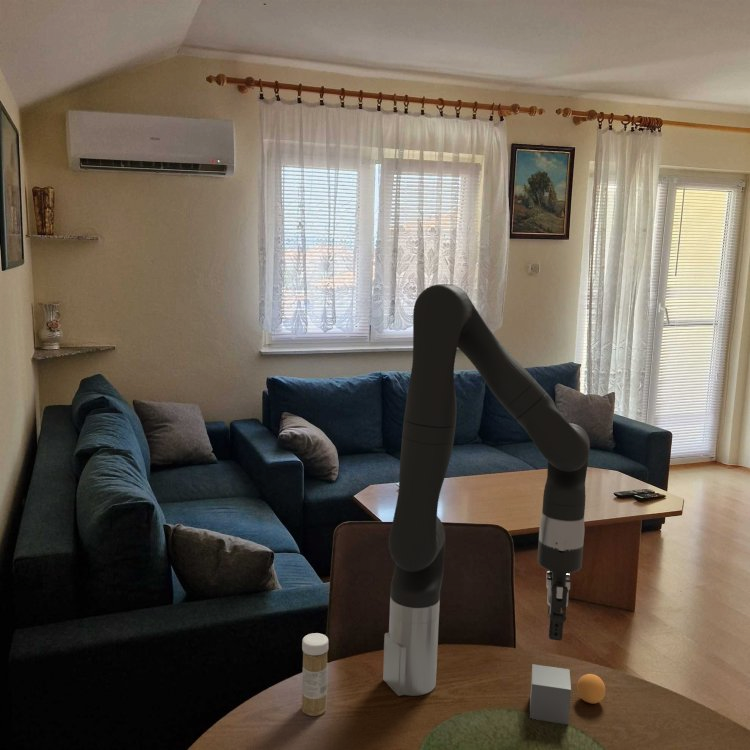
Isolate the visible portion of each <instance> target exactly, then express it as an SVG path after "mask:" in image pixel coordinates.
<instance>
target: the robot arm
mask: <svg viewBox="0 0 750 750" xmlns="http://www.w3.org/2000/svg"><path fill="white" fill-rule="evenodd" d="M412 313H413V314H412V318H413V319H412V322H413V323H412V328H413V330H412V331H413V332H412V333H413V334H412V366H411V371H410V377H409V382H408V388H407V395H406V403H405V409H404V410H405V411H404V415H403V425H402V435H401V447H400V459H399V474H398V475H399V477H398V478H399V480H398V483H399V484H398V491H397V492H398V493H397V499H396V504H395V510H394V514H393V518H392V519H393V520H392V523H391V528H390V532H389V537H388V550H389V553H390V556H391V558H392V560H393V561H394V562H395V565H394V571H393V575H392V578H391V581H390V582H391V583H390V597H389V598H390V599H389V600H390V601H389V619H388V620H389V622H388V623H389V624H388V632H385V633H384V642H383V668H382V669H383V671H382V672H383V674H382V680H383V681H384V682H385V683H386V685H387V686H388V687H390V689H391V690H392V691H393V692H394V693H395V694H396V695H397V696H398V697H401V696H412V697H417V696H423V695H427V694H429V693H431V692H432V691H433V690H434V689H435V687H436V685H437V665H438V663H437V662H438V646H439V645H438V643H439V621H440V620H439V619H440V603H441V602H440V601H441V600H440V599H441V588H442V584H443V578H444V566H445V565H444V564H445V553H446V552H445V551H446V547H445V546H446V531H445V528H444V524H443V523H442V521H441V519H440V518H439V517H438V509H439V507H438V506H439V499H440V494H441V491H442V488H443V484H444V482H445V481H444V480H445V479H446V475H447V471H448V468H449V465H450V460H451V458H452V457H451V456H452V453H453V452H452V451H453V447H454V441H455V435H456V434H455V433H456V426H457V414H458V413H457V410H458V409H457V396H456V395H457V394H456V384H455V379H454V378H455V375H454V373H455V371H454V370H455V361H456V356H457V351H458V349H459V351H461V353H462V354H464V356H466V357H467V359H468V360H469V361H470V362H471V364H472V365H473V366H474V368H475V369H476V370H477V372H478V373H479V375H480V376H481V378H482V379H483V380H484V382H485V384H486V386H487V387H488V389H489V390H490V391H491V393H492V394H493V396H494V397H495V398H496V400H498V402H499V403H500V404H501V406H502V407H503V408H504V409H505V410H506V411H507V412H508V413H509V414H510V416H511V417H513V419H514V420H515V421H516V422H517V423H518V424H519V425H520V426H521V427H522V428H523V429H524V430H525V431H526V433H527V434H528V436H529V438H530V439H531V440H532V442H533V443H534V446H535V447H536V448H537V450H538V451H539V452H540V453H541V454H542V457H544V459H545V460H547V469H546V470H547V471H546V472H547V474H546V475H547V477H546V480H545V485H544V490H543V494H542V495H543V497H542V509H541V510H542V512H541V517H540V521H539V531H538V545H537V546H538V547H537V559H536V560H537V563H538V565H539V566H540V567H541V568H543V569H545V570H547V571H546V577H545V578H546V579H545V580H546V583H545V584H546V585H545V586H546V589H547V599H546V603H547V606H548V607H547V615H548V618H549V624H548V625H549V626H548V638H549V639H550V640H553V641H562V639H563V631H564V630H563V629H564V623H565V622H566V621H567V615H566V614H567V607H568V604H569V591H570V590H571V579H570V577H571V573H573V574H574V573H576V572H578V571H580V570H581V569H582V566H583V553H584V539H585V531H586V530H585V514H586V513H585V510H586V496H587V495H586V477H587V471H588V470H587V469H588V465H589V457H590V449H591V442H590V441H591V440H590V438H589V435H588V433H587V432H586V430H585V429H584V428H583V427H581V426H580V425H578V424H577V423H571V422H569V421H568V420H567V419H566V418H565V417H564V416H563V414H561V413H560V411H559V410H558V408H557V407H556V403H555V402H554V400H553V399H552V397H551V396H550V395H549V393H547V391H546V390H545V389H544V388H543V387H542V386H541V385H540V384H539V383H538V382H537V380H536V379H535V378H534V377H533V376H532V375H531V374H530V373H529V372H528V371H527V370H526V368H525V367H523V365H521V363H520V362H519V361H518V360H517V359H516V358H515V356H513V355H512V354H511V353H510V351H509V350H508V349H507V348H506V347H505V346H504V345H503V344H502V342H500V340H499V339H498V338H497V336H496V335H495V334H494V332H493V331H492V330H491V329H490V328H489V326H488V325H487V323H486V322H485V320H484V319H483V317H482V316H481V314H480V313H479V311H478V310H477V308H476V307H475V305H474V304H473V302H472V300H471V299H470V296H469V295H468V293H467V292H466V291H465V290H464V289H463V288H460V286H458V285H454V284H451V283H450V284H449V283H443V284H441V283H439V284H434V285H431V286H428V287H427V288H425V289H424V290H423V291H421V293H419V295H418V297H416V300H415V303H414V306H413V312H412Z"/></svg>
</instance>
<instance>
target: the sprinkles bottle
mask: <svg viewBox="0 0 750 750" xmlns="http://www.w3.org/2000/svg"><path fill="white" fill-rule="evenodd" d="M301 641H302V643H301V645H302V646H301V649H302V675H301V677H302V678H301V693H302V698H301V700H302V701H301V702H302V703H301V710H302V712H303V714H306V715H308V716H310V717H311V716H312V717H316V716H320V715H323V714H324V713H325V712H326V710H327V709H328V707H327V705H328V704H327V693H328V652H329V638H328V636H326V634H323V633H319V632H315V633H313V632H312V633H308V634H307V635H305V636H304V637H303V638H302V640H301Z"/></svg>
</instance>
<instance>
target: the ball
mask: <svg viewBox="0 0 750 750" xmlns="http://www.w3.org/2000/svg"><path fill="white" fill-rule="evenodd" d="M576 689H577V693H578V696H579V697H580V698H581V699H582V700H583V702H586V703H589V704H597V703H600V702H601V701H602V700H604V698H605V696H606V685H605V683H604V681H603V679H601V678H600V676H598V675H596V674H593V673H587V674H584V675H582V676H580V678H579V679H578V681H577V685H576Z"/></svg>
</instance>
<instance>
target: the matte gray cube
mask: <svg viewBox="0 0 750 750" xmlns="http://www.w3.org/2000/svg"><path fill="white" fill-rule="evenodd" d="M530 676H531V677H530V690H529V691H530V693H529V695H530V696H529V719H530V718H532V719H531V720H535V719H536V720H537V721H542V720H543V722H550V723H554V724H555V723H556V724H561V725H569V723H570V722H569V721H570V709H571V696H572V695H571V694H572V684H571V674H570V668H563V667H555V666H548V665H541V664H535V663H534V664H533V663H532V664H531V675H530Z"/></svg>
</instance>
